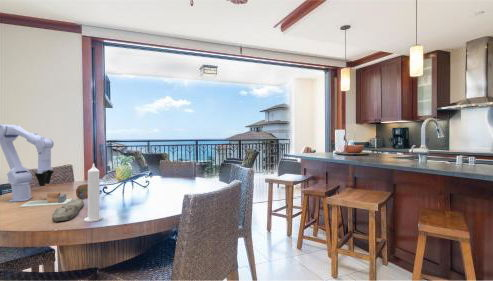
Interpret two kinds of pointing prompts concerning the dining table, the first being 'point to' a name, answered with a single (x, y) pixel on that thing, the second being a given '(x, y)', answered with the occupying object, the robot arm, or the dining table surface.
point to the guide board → (61, 201)
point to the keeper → (53, 197)
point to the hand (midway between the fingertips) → (44, 184)
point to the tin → (82, 191)
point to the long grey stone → (67, 210)
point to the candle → (93, 195)
